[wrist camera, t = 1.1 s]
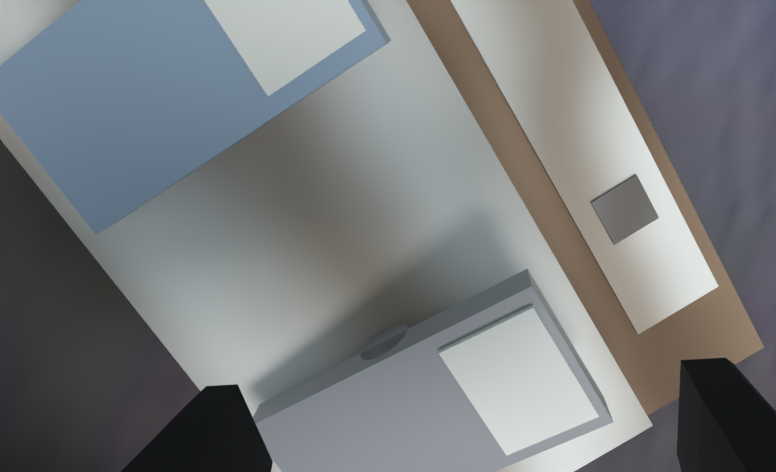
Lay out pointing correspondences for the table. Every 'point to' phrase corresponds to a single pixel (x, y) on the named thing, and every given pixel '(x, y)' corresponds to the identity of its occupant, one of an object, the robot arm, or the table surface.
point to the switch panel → (429, 214)
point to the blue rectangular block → (168, 87)
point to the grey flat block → (442, 393)
